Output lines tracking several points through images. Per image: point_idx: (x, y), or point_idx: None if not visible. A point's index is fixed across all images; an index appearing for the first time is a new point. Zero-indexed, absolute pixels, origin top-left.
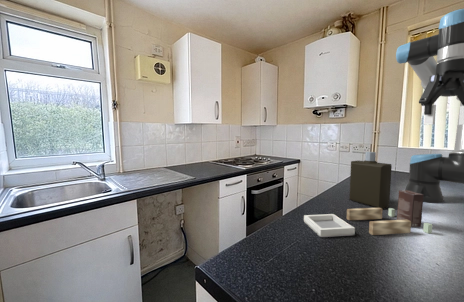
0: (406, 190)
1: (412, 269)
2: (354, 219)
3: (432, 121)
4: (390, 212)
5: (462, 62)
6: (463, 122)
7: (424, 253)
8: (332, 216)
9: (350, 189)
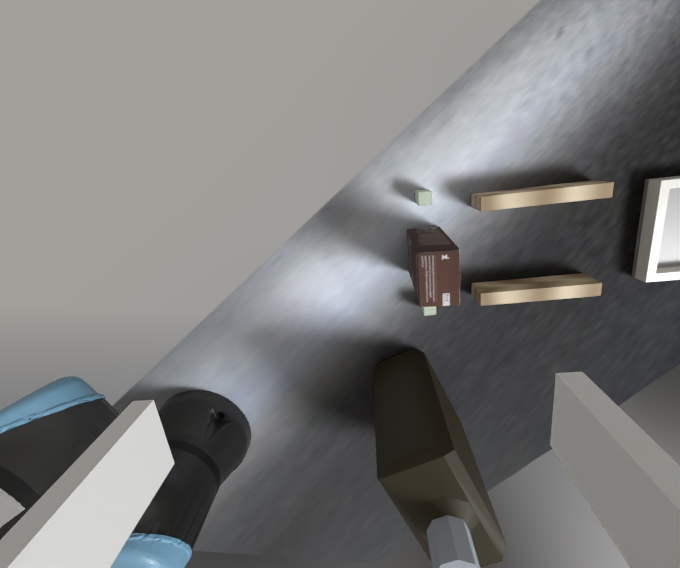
0: (430, 304)
1: (645, 6)
2: (565, 275)
3: (603, 393)
4: None
5: None
6: (151, 448)
7: (541, 82)
8: (652, 272)
9: (469, 446)
